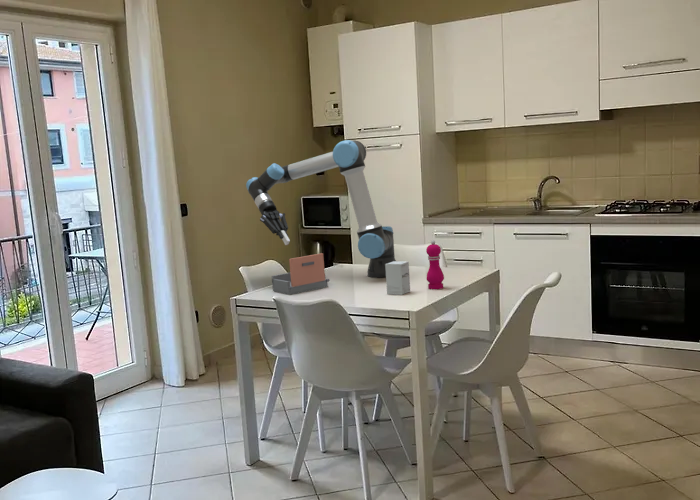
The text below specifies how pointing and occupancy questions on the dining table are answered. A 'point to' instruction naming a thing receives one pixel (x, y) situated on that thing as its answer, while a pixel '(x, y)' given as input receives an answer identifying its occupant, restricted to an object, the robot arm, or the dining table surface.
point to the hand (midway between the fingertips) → (287, 242)
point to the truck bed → (283, 285)
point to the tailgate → (307, 269)
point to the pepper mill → (434, 267)
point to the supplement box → (397, 277)
